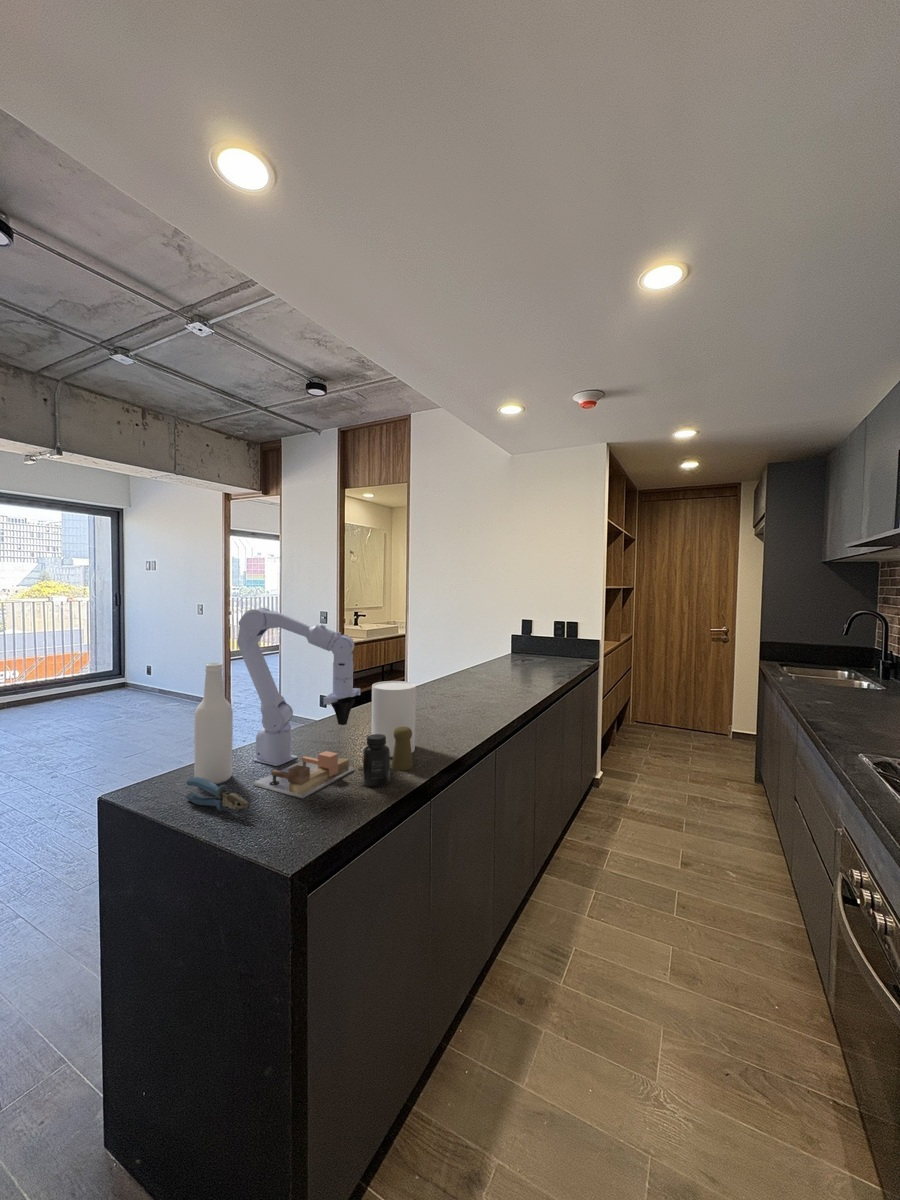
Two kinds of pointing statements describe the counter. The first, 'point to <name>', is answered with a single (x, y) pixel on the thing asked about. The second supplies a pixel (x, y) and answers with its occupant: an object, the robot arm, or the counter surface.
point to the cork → (402, 749)
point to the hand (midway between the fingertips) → (342, 724)
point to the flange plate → (283, 783)
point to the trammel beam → (306, 775)
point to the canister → (393, 710)
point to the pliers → (221, 794)
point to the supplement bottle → (376, 761)
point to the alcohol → (213, 730)
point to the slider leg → (324, 761)
